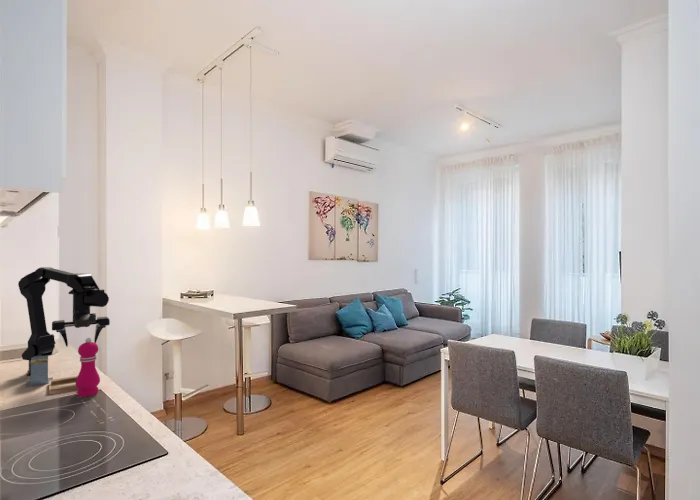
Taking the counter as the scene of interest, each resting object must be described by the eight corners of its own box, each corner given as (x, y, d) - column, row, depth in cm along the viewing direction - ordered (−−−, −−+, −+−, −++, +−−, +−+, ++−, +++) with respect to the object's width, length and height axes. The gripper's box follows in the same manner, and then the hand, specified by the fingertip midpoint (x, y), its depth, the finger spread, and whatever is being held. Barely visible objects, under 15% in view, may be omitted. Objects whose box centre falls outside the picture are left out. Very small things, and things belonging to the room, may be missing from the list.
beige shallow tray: (49, 385, 147) (49, 380, 147) (81, 380, 153) (81, 375, 153) (49, 395, 137) (49, 389, 137) (83, 389, 144) (83, 384, 143)
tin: (31, 380, 151) (31, 357, 150) (48, 378, 154) (48, 355, 154) (30, 386, 145) (30, 361, 145) (47, 383, 148) (48, 359, 148)
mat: (26, 382, 150) (26, 381, 150) (52, 378, 155) (52, 377, 155) (25, 388, 144) (25, 387, 144) (52, 384, 148) (52, 383, 148)
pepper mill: (104, 392, 141) (105, 337, 141) (83, 399, 135) (84, 341, 134) (91, 389, 144) (92, 334, 144) (70, 395, 138) (71, 338, 137)
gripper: (52, 310, 144) (51, 353, 144) (111, 306, 155) (110, 345, 155) (52, 306, 153) (51, 346, 153) (108, 302, 164) (107, 340, 164)
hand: (81, 344), depth 156 cm, fingers open, 9 cm apart
